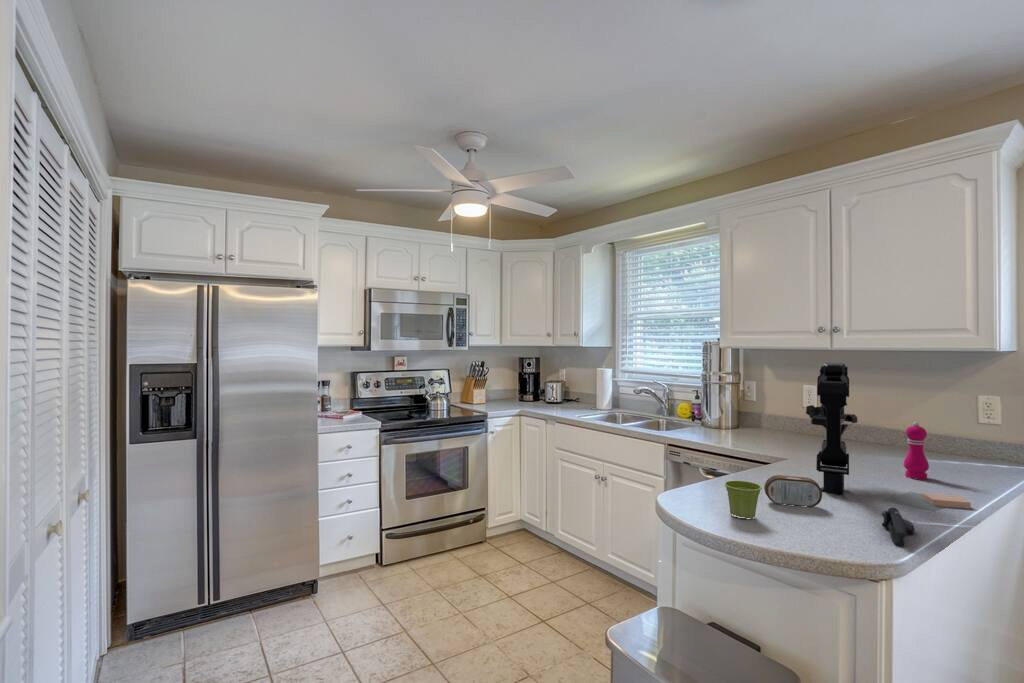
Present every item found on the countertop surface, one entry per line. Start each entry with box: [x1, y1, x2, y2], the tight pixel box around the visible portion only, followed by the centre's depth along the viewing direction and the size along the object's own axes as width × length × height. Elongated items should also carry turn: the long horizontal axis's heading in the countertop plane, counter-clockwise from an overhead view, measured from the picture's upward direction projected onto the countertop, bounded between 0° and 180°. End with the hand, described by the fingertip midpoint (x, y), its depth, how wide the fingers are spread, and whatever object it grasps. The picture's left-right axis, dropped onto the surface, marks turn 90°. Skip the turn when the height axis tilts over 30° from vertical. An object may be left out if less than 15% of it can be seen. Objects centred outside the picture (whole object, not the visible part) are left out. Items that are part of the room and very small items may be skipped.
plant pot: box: [724, 480, 763, 518], centre depth 144 cm, size 9×9×9 cm
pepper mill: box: [903, 421, 930, 480], centre depth 189 cm, size 7×7×20 cm
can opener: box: [879, 507, 915, 547], centre depth 130 cm, size 18×7×6 cm, turn 146°
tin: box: [764, 474, 823, 508], centre depth 155 cm, size 15×3×8 cm, turn 71°
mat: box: [882, 491, 946, 513], centre depth 158 cm, size 18×13×1 cm
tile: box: [921, 492, 972, 509], centre depth 155 cm, size 2×7×9 cm
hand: (834, 444), depth 181 cm, fingers closed
